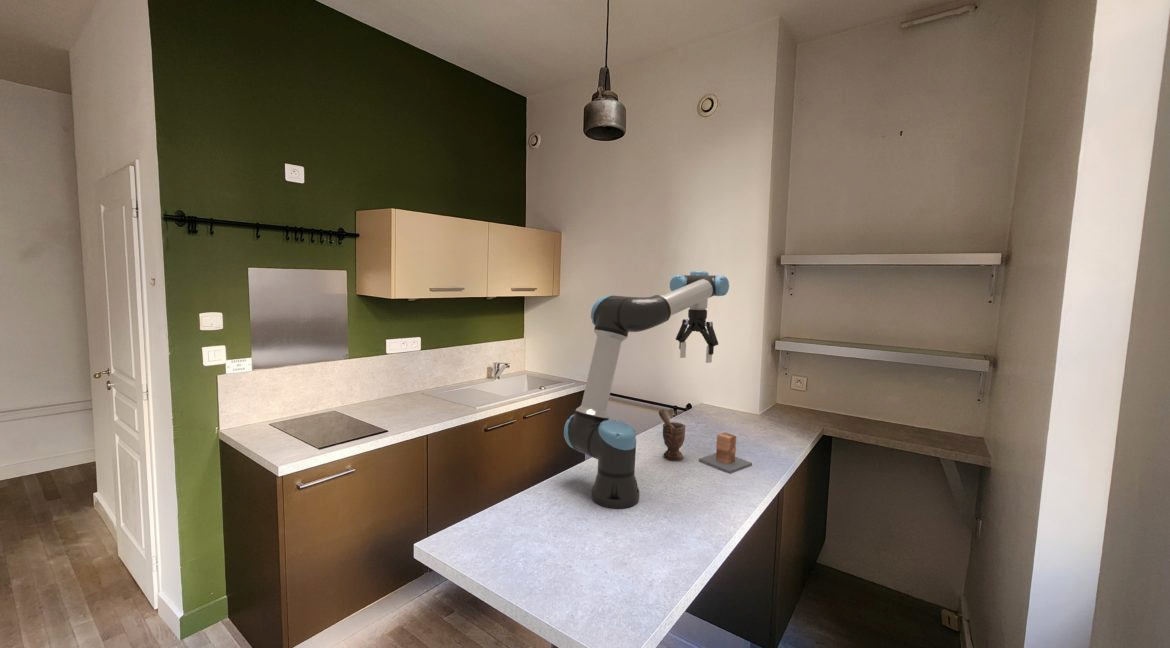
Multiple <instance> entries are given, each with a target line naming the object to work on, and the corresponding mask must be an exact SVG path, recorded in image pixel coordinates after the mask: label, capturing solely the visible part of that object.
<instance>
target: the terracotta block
mask: <svg viewBox="0 0 1170 648" xmlns="http://www.w3.org/2000/svg"><path fill="white" fill-rule="evenodd" d="M736 447H737V435H735V434H731V433H728V432H723V433H719V434H717V435H716V452H715V454H716V460H717V461H719V462H722V463H725V464H729V463H732V462H735V457H736V452H737V451H736V449H737V448H736Z"/></svg>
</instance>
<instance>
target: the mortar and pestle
mask: <svg viewBox="0 0 1170 648" xmlns="http://www.w3.org/2000/svg"><path fill="white" fill-rule="evenodd" d="M658 415H659V418H660V419H661V420H662V421H663V424H662V439H663V443H664V445H665V447H666V448H667V450H666V451H665V452H664V453H663V458H665V459H666V460H668V461H681V460H683V458H684V454H683V453H682V452H681V451H680V449H681V448H682V446H683V445H684V442H685V437H686V425H685V424H684V423H682V422H678V421H677V422H676V421H671V420H670V418H669V416H668V413H667V411H666V410H665V409H663V408H662V409H659V410H658Z"/></svg>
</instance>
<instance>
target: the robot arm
mask: <svg viewBox="0 0 1170 648" xmlns="http://www.w3.org/2000/svg"><path fill="white" fill-rule="evenodd" d="M669 289H670V292H668V293H664V294H663V295H661V294H655V295H652V296H647V297H646V296H645V297H643V296H642V297H639V296H623V295H622V296H621V295H604V296H601V297H600V298H599V299H596V301H595V303H594V304H593V306H592V308H591V313H590V318H591V319H590V320H591V322H592V324H593V325H594V329H593V332H594V333H595V335H596V340H595V344H594V349H593V351H592V352H593V353H592V357H591V363H590V365H589V370H588V374H587V375H588V376H587V378H586V384H585V388H584V392H583V397H582V401H581V404H580V406H578V407H577V408H576V409H575V412H574V414H572V415H570V417H569V418H568V419H567V420H566V422H565V424H564V427H563V437H564V440H565V442H566V444H567V446H569V447H570V448H571V449H573V450H575V451H576V452H577V453H582V454H584V455H586V456H588V457H591V458H593V459H596V460H597V474H596V476H595V481H594V483H593V485H592V487H591V495H590V497H591V499H592V501H593V502H594V503H596V504H598V505H599V506H602V507H604V508H605V507H606V508H612V509H626V508H630V507H633V506H635V505H636V504H638V503H639V501H640V490H639V486H638V483H637V479H636V475H635V473H636V472H635V471H636V469H635V467H636V453H637V451H636V449H637V437H636V436H637V435H636V430H635V428H634V427H633V426H632V425H631V424H629V423H626V422H625V421H621V420H616V419H610V415H609V414H608V412H607V408H608V404H609V399H610V395H611V391H612V387H613V381H614V377H615V373H616V368H617V364H618V359H619V355H620V350H621V346H622V342H624V341H626V340H627V339H628V336H629V333H639V332H643V331H647V330H650V329H652V328H655V327H657V326H659V325H662V324H664V323H666V322H667V321H669V320H670V319H671V317H672V316H674V315H676V314H678V313H680V312H682V311H684V310H686V309H688V308H689V309H688V310H687V311H688V313H687V314H688V315H687V318H688V319H682V321H681V325H680V328H679V330H678V333H677V334H676V337H675V340H676V341H678V343H679V346H678V347H679V352H680V353H679V358H680V359H683V358H686V357H687V356H686V355H687V354H686V353H687V342H686V341H687V339H688V338H689V337H690V336H691V334H692V333H693V332H697V333H700V334H701V336H702V337H703V339H704V341H705V342H706V344H707V346H706V353H705V363H706V364H710V363H712V362H713V360H712V359H713V355H714V350H715V347H716V346H719V341H718V339H717V335H716V333H715V329H714V326H713V325H714V324H713V321H707V319H708V310H707V308H708V299H710V298H712V297H715V296H716V297H721V296H722V297H724V296H726V295H727V294H728V292H729V289H730V283H729V278H727V276H725V275H718V274H717V275H715V274H714V275H709V271H706V270H705V271H702V270H692V271H690V273H689V275H686V274H676V275H674V276H672V277H671V279H670V281H669Z"/></svg>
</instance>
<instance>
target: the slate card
mask: <svg viewBox="0 0 1170 648" xmlns="http://www.w3.org/2000/svg"><path fill="white" fill-rule="evenodd" d="M698 462H700V463H701V464H704V465H708V466H710V467H712V468H715V469H717V470H719V471H721V472H724V473H727V474H733V473H735V472H738V471H740V470H744V469H746V468H749V467H752V466H753V462H750V461H747V460H745V459H742V458H740V457H737V456H735V462H732V463H729V464H725V463H722V462H719V461H717V460H716V453H713V454H709V455H707V456H704V457H701V458H700V457H699V459H698Z"/></svg>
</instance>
